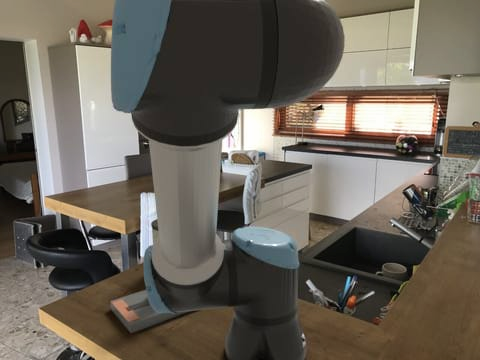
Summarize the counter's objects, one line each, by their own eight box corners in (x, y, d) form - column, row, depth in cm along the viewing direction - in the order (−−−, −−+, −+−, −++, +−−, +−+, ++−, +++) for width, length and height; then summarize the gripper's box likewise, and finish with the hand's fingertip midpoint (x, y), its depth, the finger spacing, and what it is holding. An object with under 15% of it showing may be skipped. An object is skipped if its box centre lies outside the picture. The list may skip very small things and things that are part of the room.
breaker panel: (213, 302, 91) (213, 294, 91) (131, 333, 80) (130, 324, 79) (187, 283, 101) (187, 276, 100) (110, 309, 89) (110, 300, 88)
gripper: (230, 71, 77) (231, 176, 81) (164, 77, 95) (168, 163, 100) (198, 69, 72) (202, 181, 76) (136, 76, 90) (142, 166, 95)
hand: (183, 171), depth 88 cm, fingers open, 13 cm apart
